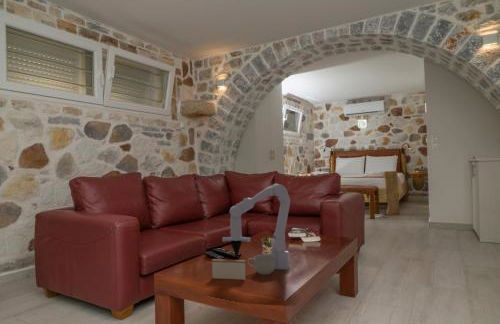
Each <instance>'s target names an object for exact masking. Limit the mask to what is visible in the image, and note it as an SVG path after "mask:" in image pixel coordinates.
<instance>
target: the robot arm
mask: <svg viewBox="0 0 500 324" xmlns="http://www.w3.org/2000/svg"><path fill="white" fill-rule="evenodd" d="M273 196H275V197H276V199H278V202H280V204H279V208H278V214H277V220H276V226H275V230H274V233H273V236H272V237H271V239H270V245H271V247H272V248H271V251H270V253H271V254H270V255H272V256H274V257H275V269H274V270H287V271H288V270H289V268H290V264H291V263H290V252H289V250H286V247H287V245H286V234H285V233H286V229H287V223H288V217H289V216H288V215H289V212H290V207H291V198H290V195H289V192H288V189H287V188H286V187H285V186H284V185H283V184H279V183H273V184H272V185H269V186H267V187H266V188H264V189H263V190H261V191H260V192H258V193H256V194H255V195H254V196H253V197H244V198H243V200H241V201H239V203H238V202H237V203H236V204H235V205H233V206H231V207H230V209H229V211H228V212H229V214H230V221H229V223H230V225H229V226H230V236H223V237H221V238H222V240H221V241H222V242H223V243H224V242H230V245H231V248H232V249H233V252H234V256H235V257H238V256H239V252H240V249H241V245H242V242H245V243H246V242H248V243H249V242H251V237H248V236H247V237H246V236H243V234H242V233H243V232H242V215H243V214H244V213H246V212H247V211H248V212H249V211H250V210H252V209H253V208H254V205H255V204H256V203H257V202H259V201H261V200H263V199H265V198H266V197H273Z"/></svg>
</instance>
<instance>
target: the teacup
mask: <svg viewBox="0 0 500 324" xmlns="http://www.w3.org/2000/svg"><path fill="white" fill-rule="evenodd" d="M250 261H252V262H253V264H251V263H250ZM246 262H247V265H248V266H249V267H251V268H252V269H253V270H255V272H256V273H257V274H258V275H262V276H268V275H271V274H272V273H273V272H274V270H276V269H275V257H274V256H272V255H271V254H267V253H266V254H265V253H264V254H258V255H255V256H254V257H249V258H248V259H247V261H246Z"/></svg>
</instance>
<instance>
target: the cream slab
mask: <svg viewBox="0 0 500 324" xmlns="http://www.w3.org/2000/svg"><path fill="white" fill-rule="evenodd" d="M211 262H212V263H211V264H212V265H211V266H212V268H211V269H212V270H211V271H212V273H211V274H212V275H211V276H212V279H220V280H223V279H224V280H246V262H247V261H246V259H224V258H223V259H221V258H220V259H218V258H213V259H211Z"/></svg>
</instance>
